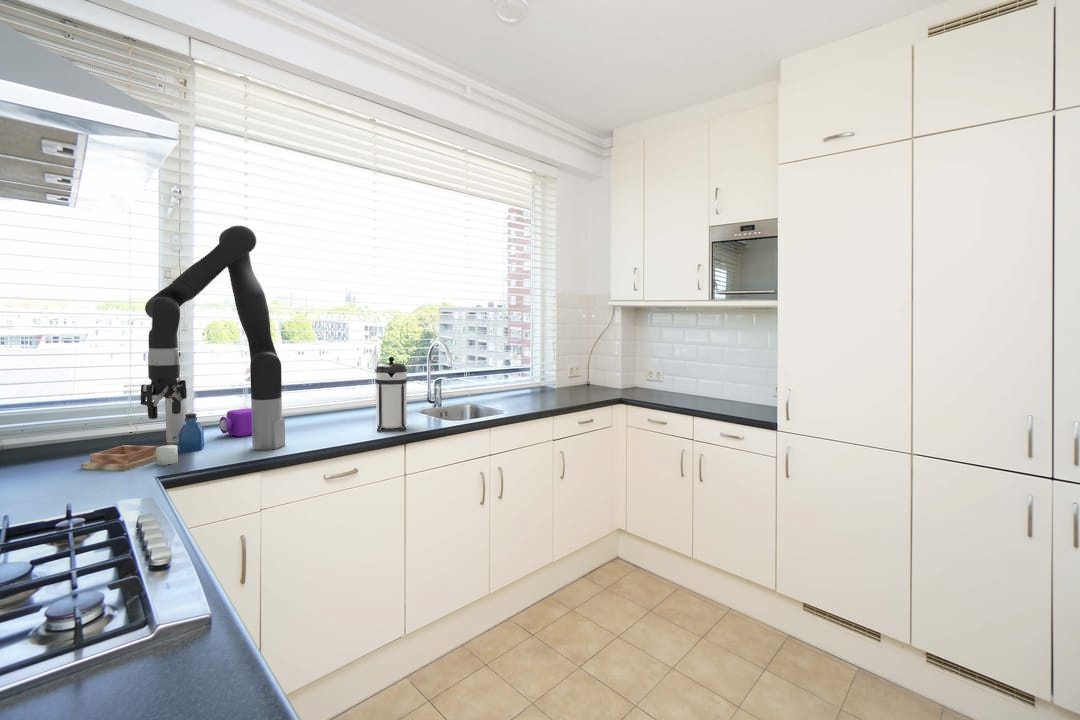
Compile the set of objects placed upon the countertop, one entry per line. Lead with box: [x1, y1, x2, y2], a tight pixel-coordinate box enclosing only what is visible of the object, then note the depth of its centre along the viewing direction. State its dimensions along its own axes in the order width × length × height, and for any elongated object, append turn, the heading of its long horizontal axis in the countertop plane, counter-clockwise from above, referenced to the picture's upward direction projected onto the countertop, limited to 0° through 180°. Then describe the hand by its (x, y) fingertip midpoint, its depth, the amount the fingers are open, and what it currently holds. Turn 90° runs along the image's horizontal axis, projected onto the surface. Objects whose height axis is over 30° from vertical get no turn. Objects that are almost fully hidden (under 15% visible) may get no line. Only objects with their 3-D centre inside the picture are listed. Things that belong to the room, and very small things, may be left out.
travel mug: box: [164, 389, 189, 446], centre depth 175 cm, size 6×7×20 cm
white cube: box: [156, 444, 179, 466], centre depth 153 cm, size 5×5×5 cm
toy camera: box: [218, 407, 252, 438], centre depth 190 cm, size 11×14×10 cm
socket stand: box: [80, 444, 158, 471], centre depth 152 cm, size 14×14×4 cm
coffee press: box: [374, 356, 409, 433], centre depth 206 cm, size 17×16×30 cm
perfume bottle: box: [178, 412, 205, 453], centre depth 169 cm, size 6×6×12 cm
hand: (165, 416), depth 152 cm, fingers open, 8 cm apart
